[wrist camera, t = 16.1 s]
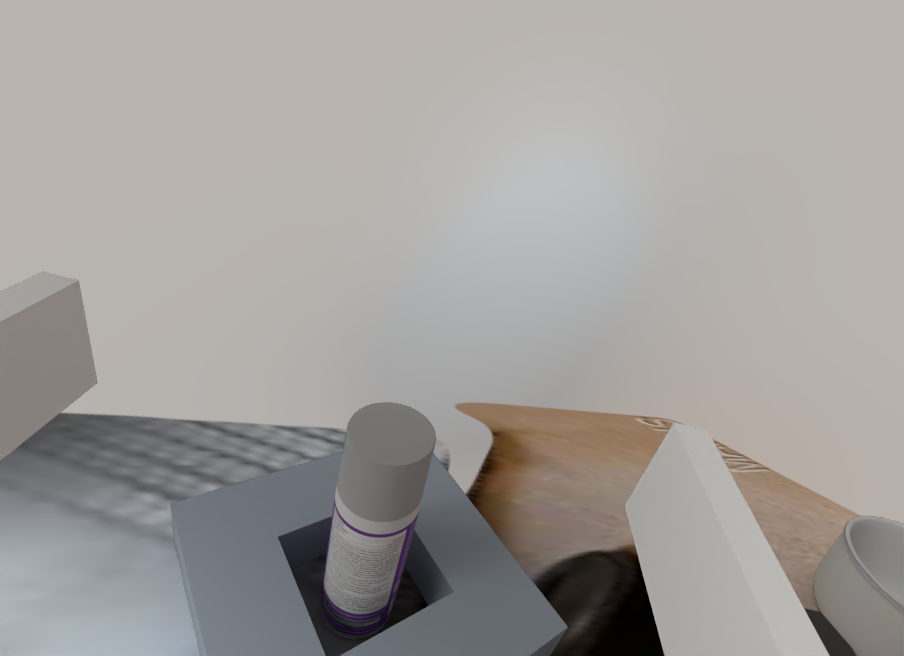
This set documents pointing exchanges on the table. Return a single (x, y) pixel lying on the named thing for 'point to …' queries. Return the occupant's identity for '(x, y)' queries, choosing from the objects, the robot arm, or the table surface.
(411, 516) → the container
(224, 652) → the socket block
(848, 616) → the teacup
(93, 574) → the table surface
